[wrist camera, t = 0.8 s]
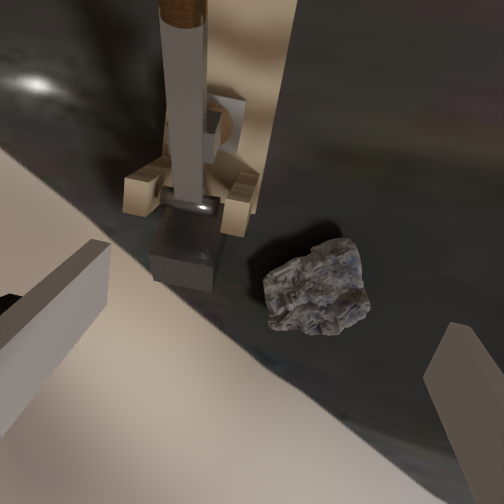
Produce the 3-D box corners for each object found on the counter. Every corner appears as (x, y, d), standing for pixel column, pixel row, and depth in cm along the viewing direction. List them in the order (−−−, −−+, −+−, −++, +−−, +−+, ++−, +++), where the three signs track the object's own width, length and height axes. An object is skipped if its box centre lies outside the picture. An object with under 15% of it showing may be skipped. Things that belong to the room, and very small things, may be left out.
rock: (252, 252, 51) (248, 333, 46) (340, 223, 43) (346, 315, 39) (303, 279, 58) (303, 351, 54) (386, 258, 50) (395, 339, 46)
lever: (135, -196, 19) (67, -147, 15) (264, -170, 19) (231, -115, 15) (174, 222, 46) (153, 280, 42) (227, 233, 46) (212, 292, 42)
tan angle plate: (184, -35, 39) (137, -86, 27) (299, -11, 39) (303, -52, 27) (161, 190, 47) (118, 227, 35) (255, 210, 47) (243, 254, 35)
